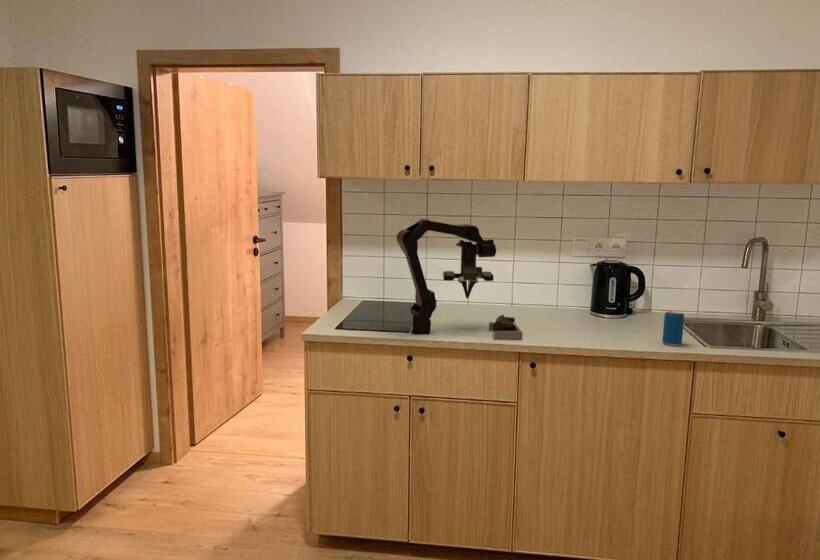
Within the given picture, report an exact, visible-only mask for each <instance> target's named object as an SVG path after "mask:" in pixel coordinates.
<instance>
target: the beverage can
mask: <svg viewBox="0 0 820 560" xmlns="http://www.w3.org/2000/svg"><path fill="white" fill-rule="evenodd" d="M663 317H664V318H663V319H664V320H663V328H662V329H663V330H662V342H663V343H664V344H665V346H671V347H679V346H680V345H681V344H682V343H683V334H684V322H685V315H684V312H683V311H682V310H678V309H666V312H665V313H664V316H663Z"/></svg>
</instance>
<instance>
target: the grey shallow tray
mask: <svg viewBox="0 0 820 560" xmlns="http://www.w3.org/2000/svg"><path fill="white" fill-rule="evenodd" d="M494 323H495V321H493V322H491V321H490V322H488V331H493V325H494ZM513 325H514V331H495V333H494V335H493V336H494V337H493V338H494V340H496V341H501V340H502V341H503V340H504V341H507V340H508V341H522V340H523V330H522V329H521V328H520V327H519V325H517V322H513Z"/></svg>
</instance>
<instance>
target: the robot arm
mask: <svg viewBox="0 0 820 560" xmlns="http://www.w3.org/2000/svg"><path fill="white" fill-rule="evenodd" d="M428 231H429V232H436V233H442V234H448V235H452V236H455V237H458V238H460V239H459V241H458V242H457V243H456V244H455V245H456V246H457V247H460V248H461V253H460V254H461V255H460V273H456V272H454V271H453V270H444V271H443V272H442V277H443V278H442V279H443V281H446V282H447V281H448V282H449V281H454V280H455V279H457V282H458V283H460V284H461V286H462V287H463V292H464V296H465V298H466V299H470V298H469V297H470V295H471V293H472V290H473V288H474V286H475V285H476V284H477V283H479V281H478V280H479V279H483V281H485V282H493V281H494V274H493V273H492V272H491V271H483V267H482V266H477V257H478V258H494V257H495V256H496V254H497V248H496V243H495V241H494V239H490V238H489V239H484V238H483V237H482V236H481V234H480V230H479V227H478V226H476V225H472V224H465V223H464V224H462V223H461V224H451V223H446V222H445V223H444V222H440V221H434V220H430V219H425V218H421V219H419V220H418V221H417V222H415V223H413V224H412V225H410V226H407V228H406V229H401V230H399V231H398V232H397V234H396V238H395V239H396V241H397V242H396V243H397V244H398V246H399V247H400V250H401V251H402V252H403V254H404V256H405V258H406V262H407V265H408V268H409V271H410V272H409V273H410V275H411V279H412V282H413V286H414V289H415V292H414V293H415V295H414V299H415V300H414V301H415V303H414V304H413V305H412V306H411V307H410V308H409V311H410V314H411V315H412V317H411V318H412V320H411V321H412V322H411V334H414V335H421V334H423V335H425V334H426V335H428V334H429V335H430V332H431V331H432V330H431V329H432V319H431V317H432V315H433V312H434V311H436V308H437V303H438V301H437V299H436V293H435V292H434V291H432V290H430V289H429V288H428V286H427V285H428V284H427V282H426V279H425V275H424V272H423V267H422V265H421V264H422V263H421V262H420V258H419V255H418V251H419V250H418V248H419V243H418V240H420V239H421V238H422V237H423V236H424V235H425V233H427V232H428ZM465 240H467V241H465ZM467 281H468V282H467Z"/></svg>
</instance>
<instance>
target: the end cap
mask: <svg viewBox="0 0 820 560" xmlns="http://www.w3.org/2000/svg"><path fill="white" fill-rule="evenodd" d="M515 319H516V318H515V317H511V316H510V317H509V316H505V314H501V315H499V316H498V317H497V318H496V320H495V321H494V322H495V323H494V325H493V333H494V334H495V331H514V325H513V323H516V321H515Z"/></svg>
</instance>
